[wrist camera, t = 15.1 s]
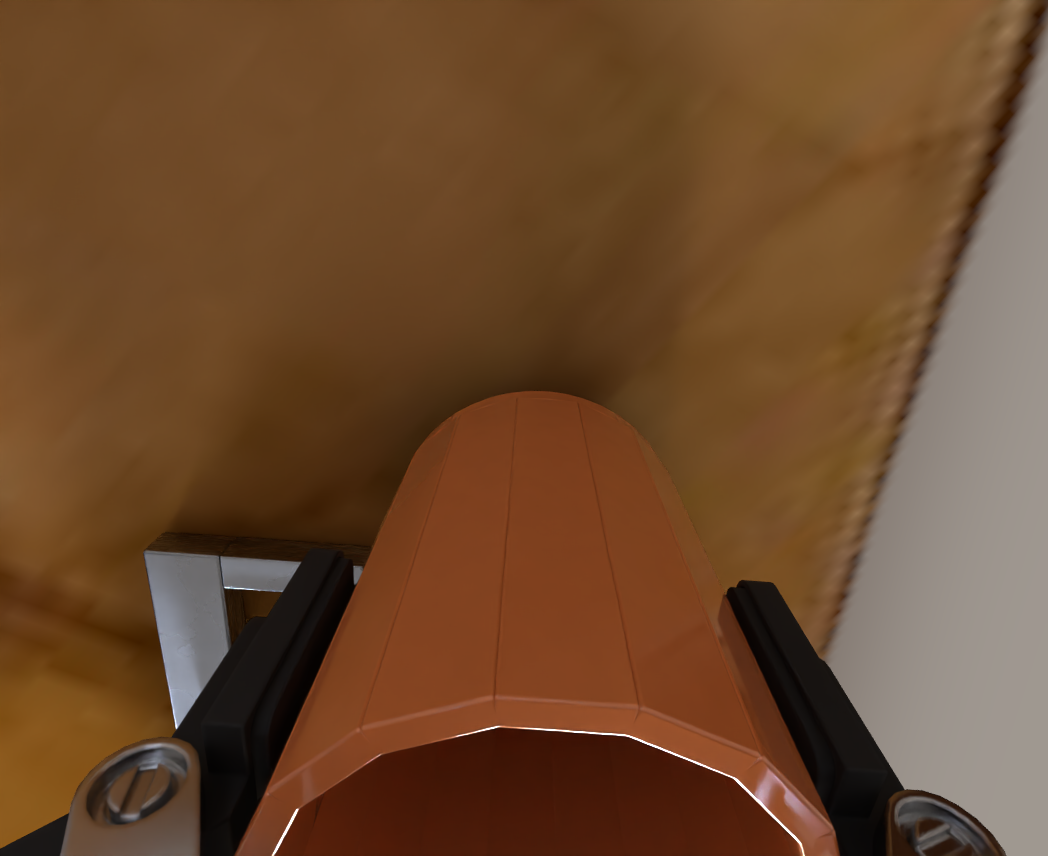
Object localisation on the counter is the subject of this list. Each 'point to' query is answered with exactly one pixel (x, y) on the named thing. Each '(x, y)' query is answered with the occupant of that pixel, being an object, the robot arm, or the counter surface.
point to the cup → (538, 668)
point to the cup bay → (214, 598)
